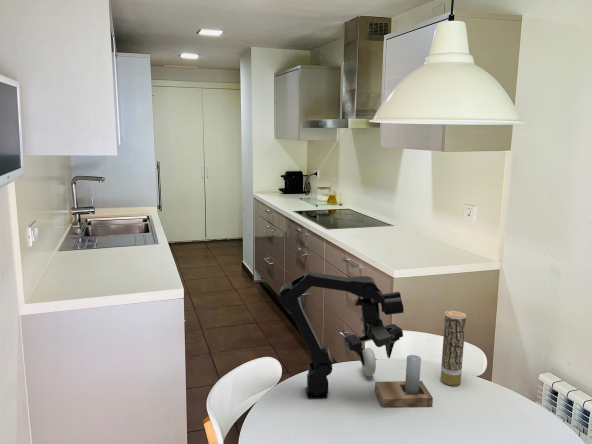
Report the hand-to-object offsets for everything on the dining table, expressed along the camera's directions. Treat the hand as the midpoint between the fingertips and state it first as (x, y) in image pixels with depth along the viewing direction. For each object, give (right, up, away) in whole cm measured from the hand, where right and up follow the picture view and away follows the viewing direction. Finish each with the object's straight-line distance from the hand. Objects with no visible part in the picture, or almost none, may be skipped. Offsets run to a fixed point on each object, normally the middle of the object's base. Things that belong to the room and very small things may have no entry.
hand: (376, 361), depth 161 cm
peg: (+12, -12, +1) cm, 17 cm away
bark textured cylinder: (+28, -11, +12) cm, 33 cm away
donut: (0, -10, +16) cm, 19 cm away
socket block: (+9, -12, +1) cm, 15 cm away
